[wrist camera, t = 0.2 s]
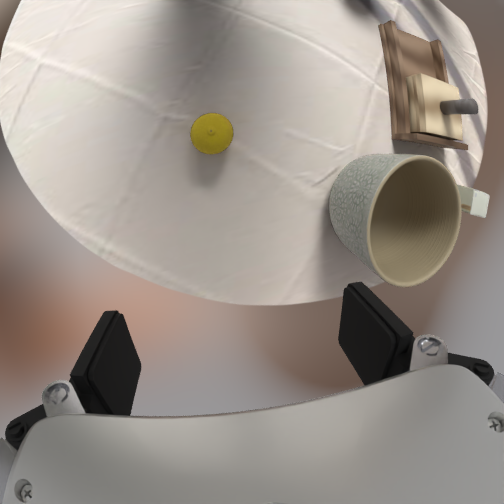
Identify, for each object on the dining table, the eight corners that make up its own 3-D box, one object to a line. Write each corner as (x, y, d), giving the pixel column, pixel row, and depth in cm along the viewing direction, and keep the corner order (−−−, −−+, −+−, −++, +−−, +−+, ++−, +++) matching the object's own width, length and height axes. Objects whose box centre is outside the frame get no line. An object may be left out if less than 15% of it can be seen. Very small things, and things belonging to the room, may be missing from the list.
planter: (325, 260, 45) (369, 305, 31) (308, 160, 39) (357, 164, 25) (403, 235, 46) (458, 266, 32) (395, 146, 40) (458, 150, 26)
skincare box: (423, 199, 44) (469, 214, 33) (427, 177, 43) (473, 188, 31) (443, 203, 45) (486, 218, 34) (446, 183, 44) (490, 195, 32)
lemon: (198, 114, 35) (194, 103, 27) (235, 122, 36) (241, 114, 29) (188, 150, 36) (181, 148, 29) (225, 158, 38) (228, 158, 30)
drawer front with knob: (399, 78, 34) (450, 66, 22) (437, 90, 36) (486, 85, 23) (404, 132, 38) (457, 132, 26) (441, 139, 39) (491, 143, 27)
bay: (378, 25, 31) (399, 13, 25) (431, 45, 33) (453, 38, 26) (391, 139, 39) (417, 139, 33) (443, 147, 41) (467, 150, 34)
